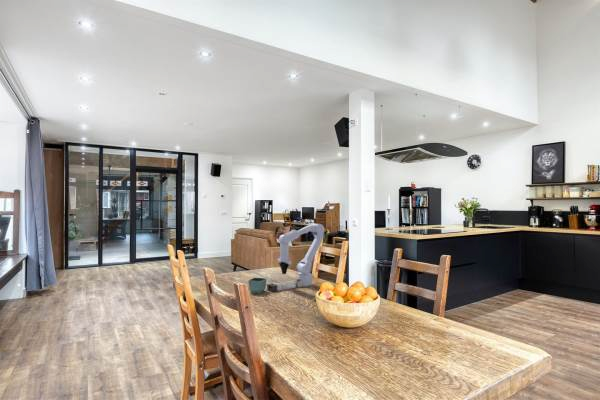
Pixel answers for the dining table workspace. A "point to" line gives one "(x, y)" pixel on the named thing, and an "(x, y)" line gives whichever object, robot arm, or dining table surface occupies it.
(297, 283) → the tongs fixed
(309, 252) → the robot arm
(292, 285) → the bar
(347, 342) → the dining table surface
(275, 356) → the dining table surface
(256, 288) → the flower pot
